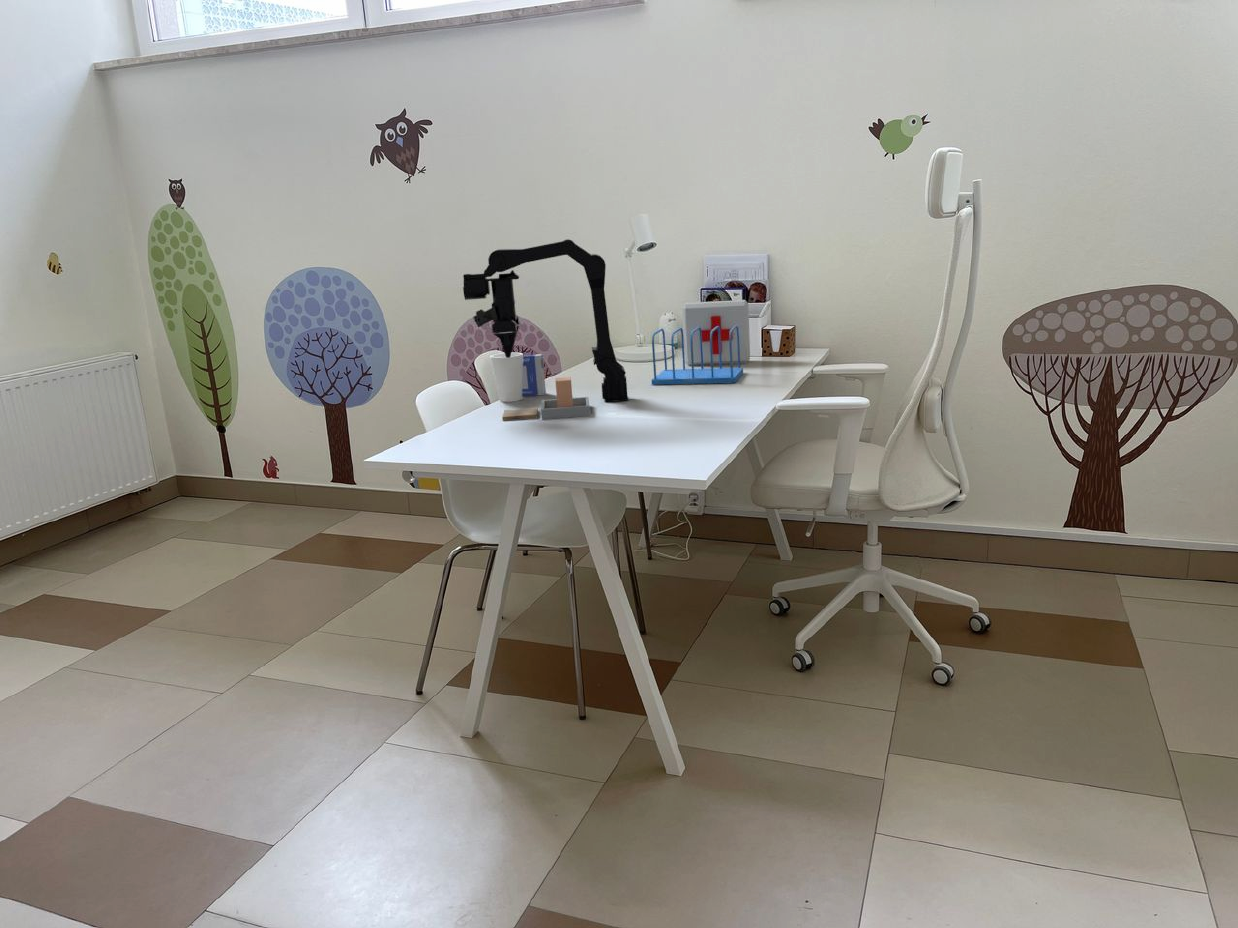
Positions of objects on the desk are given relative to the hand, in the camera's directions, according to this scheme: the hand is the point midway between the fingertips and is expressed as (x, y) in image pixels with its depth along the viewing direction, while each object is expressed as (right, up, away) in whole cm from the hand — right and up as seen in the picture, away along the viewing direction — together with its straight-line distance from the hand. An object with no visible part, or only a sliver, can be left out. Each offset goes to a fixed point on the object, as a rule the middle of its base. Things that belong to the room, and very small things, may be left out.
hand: (509, 355), depth 257 cm
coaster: (+4, -17, -8) cm, 19 cm away
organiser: (+16, -16, -7) cm, 24 cm away
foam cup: (-1, -11, +15) cm, 19 cm away
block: (+16, -16, -7) cm, 24 cm away
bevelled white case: (+62, +3, +51) cm, 81 cm away
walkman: (+4, -10, +20) cm, 23 cm away
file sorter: (+54, -4, +27) cm, 61 cm away
